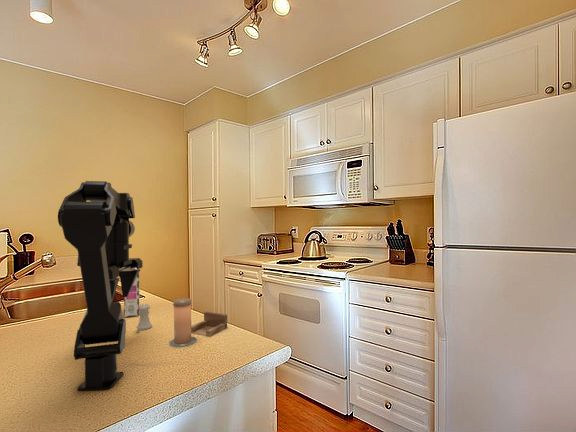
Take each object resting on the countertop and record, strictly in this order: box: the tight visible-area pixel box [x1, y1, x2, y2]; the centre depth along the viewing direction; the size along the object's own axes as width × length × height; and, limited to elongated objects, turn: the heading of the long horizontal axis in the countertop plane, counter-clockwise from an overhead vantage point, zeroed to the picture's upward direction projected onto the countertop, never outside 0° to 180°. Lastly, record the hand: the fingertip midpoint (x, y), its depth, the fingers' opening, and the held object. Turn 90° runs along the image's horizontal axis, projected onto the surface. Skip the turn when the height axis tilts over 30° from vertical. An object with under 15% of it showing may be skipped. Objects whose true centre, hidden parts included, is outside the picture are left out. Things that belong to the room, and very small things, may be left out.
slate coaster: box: [169, 336, 198, 348], centre depth 87 cm, size 7×7×1 cm
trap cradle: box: [191, 311, 228, 338], centre depth 96 cm, size 8×8×5 cm
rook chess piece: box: [136, 303, 153, 334], centre depth 99 cm, size 4×4×8 cm
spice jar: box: [172, 297, 192, 344], centre depth 87 cm, size 5×5×11 cm
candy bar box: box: [123, 268, 140, 318], centre depth 118 cm, size 11×5×16 cm, turn 25°
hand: (117, 301), depth 84 cm, fingers open, 9 cm apart
